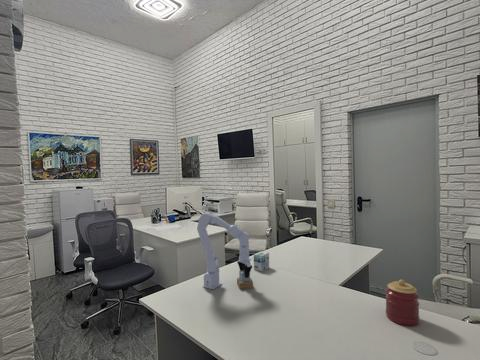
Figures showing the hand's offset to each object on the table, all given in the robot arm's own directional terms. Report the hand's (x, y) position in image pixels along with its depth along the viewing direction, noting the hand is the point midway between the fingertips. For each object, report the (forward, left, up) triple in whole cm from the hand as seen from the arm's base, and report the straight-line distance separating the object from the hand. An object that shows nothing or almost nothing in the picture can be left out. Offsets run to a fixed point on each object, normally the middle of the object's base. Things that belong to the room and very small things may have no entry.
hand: (244, 275), depth 158 cm
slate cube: (0, 0, -3) cm, 3 cm away
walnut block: (0, 0, -7) cm, 7 cm away
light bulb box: (+32, +5, -7) cm, 33 cm away
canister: (+4, -80, -7) cm, 80 cm away
